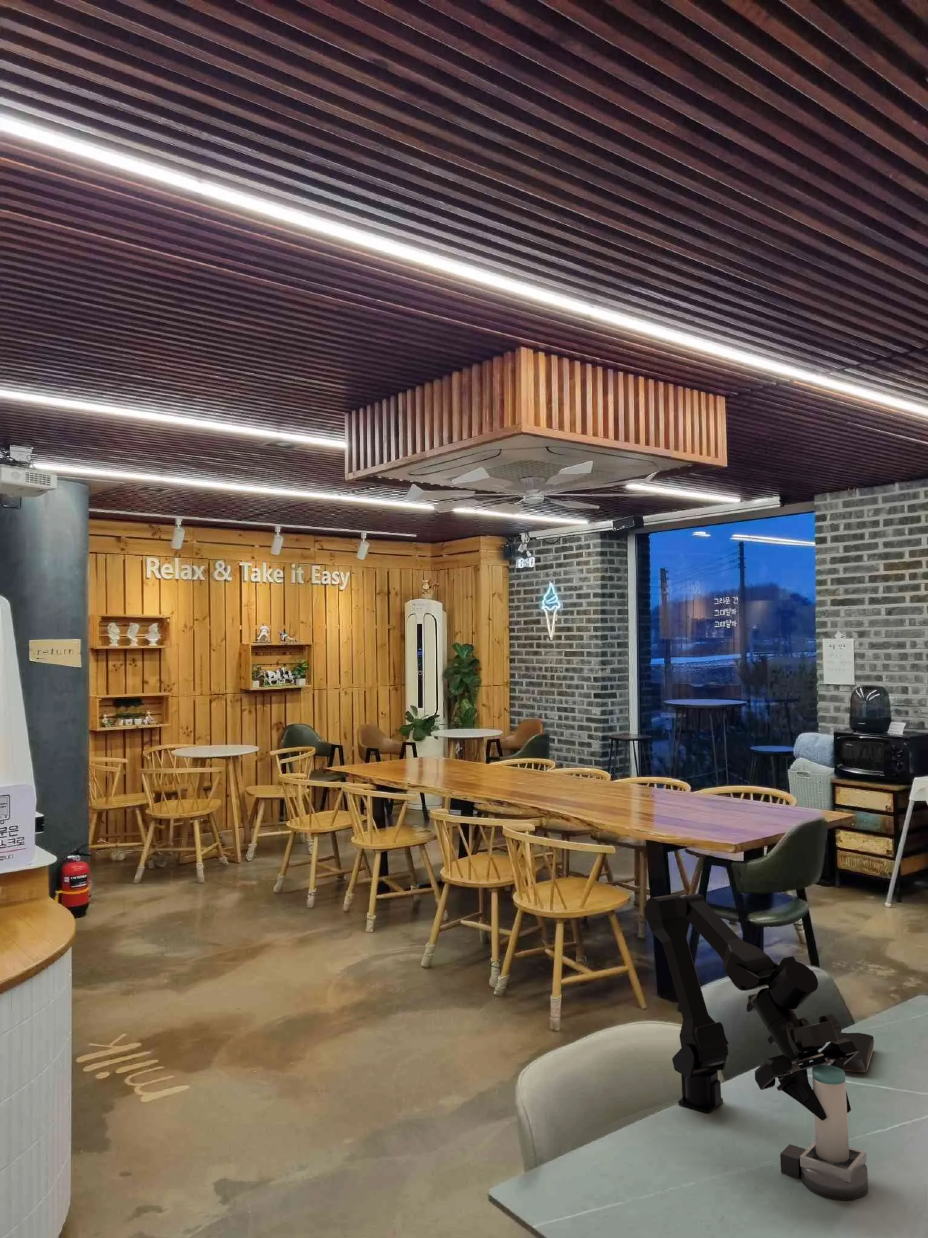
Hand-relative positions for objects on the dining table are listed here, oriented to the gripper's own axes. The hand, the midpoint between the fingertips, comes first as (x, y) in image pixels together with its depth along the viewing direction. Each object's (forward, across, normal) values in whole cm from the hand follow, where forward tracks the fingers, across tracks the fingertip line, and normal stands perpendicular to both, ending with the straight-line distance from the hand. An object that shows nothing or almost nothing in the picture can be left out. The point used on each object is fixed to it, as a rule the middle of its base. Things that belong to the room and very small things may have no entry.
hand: (836, 1115), depth 148 cm
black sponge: (-16, +41, +33) cm, 55 cm away
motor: (+6, -1, +10) cm, 11 cm away
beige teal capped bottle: (+4, 0, +6) cm, 7 cm away
